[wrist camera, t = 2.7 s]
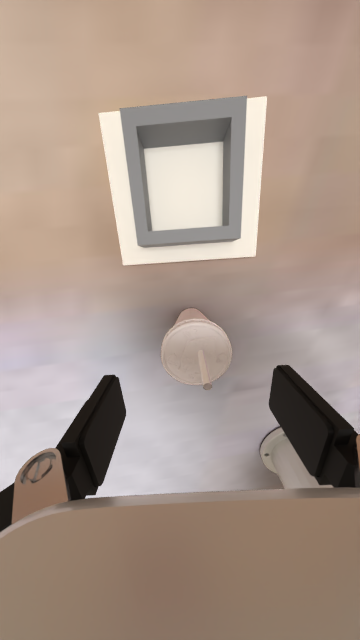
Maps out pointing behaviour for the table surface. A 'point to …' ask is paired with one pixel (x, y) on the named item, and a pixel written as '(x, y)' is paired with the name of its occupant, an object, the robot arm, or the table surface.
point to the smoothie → (195, 350)
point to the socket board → (186, 178)
